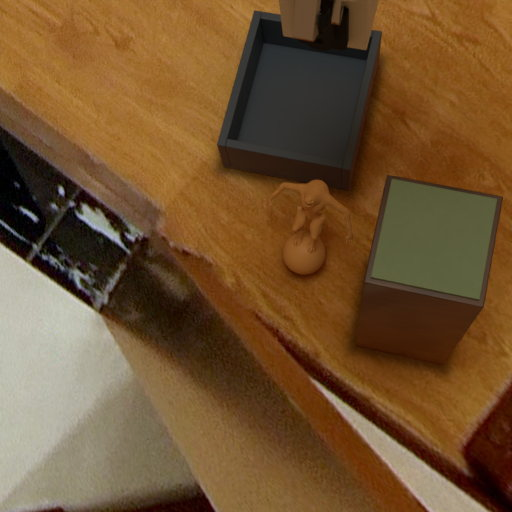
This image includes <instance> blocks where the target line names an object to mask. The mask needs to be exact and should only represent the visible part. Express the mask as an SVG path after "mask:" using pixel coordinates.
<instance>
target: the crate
mask: <svg viewBox="0 0 512 512" xmlns="http://www.w3.org/2000/svg"><path fill="white" fill-rule="evenodd" d="M382 37H383V31H381V30H377V29H372V30H371V34H370V38H369V42H368V46H367V49H366V50H361V49H355V48H350V47H347V49H346V50H337V49H330V50H327V51H324V50H318V49H314V48H311V47H310V46H309V45H308V44H303V43H301V42H299V41H298V39H294V38H291V37H285V36H283V30H282V22H281V14H280V13H273V12H267V11H261V10H256V9H254V10H253V14H252V16H251V20H250V24H249V27H248V30H247V35H246V39H245V42H244V45H243V50H242V52H241V56H240V59H239V64H238V68H237V70H236V73H235V74H236V75H235V78H234V82H233V86H232V89H231V93H230V96H229V99H228V104H227V106H226V109H225V110H226V111H225V115H224V118H223V121H222V125H221V129H220V132H219V136H218V140H217V143H216V146H217V150H218V153H219V155H220V159H221V163H222V166H223V167H224V168H229V169H233V170H239V171H243V172H249V173H254V174H259V175H263V176H270V177H274V178H279V179H284V180H289V181H296V182H300V183H304V184H307V183H309V182H310V181H312V180H322V181H323V182H325V183H326V185H327V186H328V188H331V189H335V190H342V191H346V192H349V191H350V190H351V185H352V180H353V176H354V172H355V169H356V164H357V159H358V154H359V150H360V146H361V143H362V142H361V141H362V138H363V133H364V128H365V124H366V120H367V115H368V112H369V111H368V110H369V108H370V107H369V106H370V102H371V98H372V93H373V89H374V84H375V81H376V76H377V71H378V67H379V63H380V56H381V46H382Z"/></svg>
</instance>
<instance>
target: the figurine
mask: <svg viewBox="0 0 512 512" xmlns="http://www.w3.org/2000/svg"><path fill="white" fill-rule="evenodd" d="M285 189H286V190H289V191H293V192H297V193H299V198H300V204H299V205H297V206H296V214H295V217H294V219H293V224H292V226H291V230H292V232H294V233H293V234H291V235H290V236H289V237H288V238H287V239H286V240H285V242H284V244H283V247H282V259H283V262H284V264H285V265H286V267H287V268H288V269H289V270H290V271H291V272H293V273H295V274H298V275H304V276H305V275H311V274H314V273H316V272H317V271H318V270H319V269H320V268H321V267H322V266H323V264H324V263H325V259H326V252H327V251H326V246H325V244H324V241H323V240H322V239H321V238H320V237H321V233H322V232H323V227H324V224H325V223H326V220H327V216H326V214H323V213H321V212H322V211H323V210H324V209H325V207H326V206H327V207H330V208H333V210H335V211H337V212H339V213H340V214H342V215H343V219H344V222H345V228H346V231H347V234H348V235H347V236H346V237H345V239H344V241H346V245H348V244H351V243H352V242H353V241H354V233H353V226H352V220H351V213H350V211H349V209H348V208H346V207H345V206H344V205H343V204H342V203H340V202H339V201H337V200H336V199H335V197H333V196H332V195H331V193H330V190H329V187H328V186H327V185H326V183H325V182H323V181H322V180H312V181H310V182H309V183H294V182H286V181H285V182H282V183H280V184H279V185H278V187H277V188H276V189H275V190H274V191H272V193H271V194H270V195H269V196H268V197H267V199H266V207H267V209H269V207H271V205H272V200H273V199H275V198H277V197H278V196H279V195H280V194H281V193H282V192H283V191H284V190H285ZM307 219H308V220H312V221H311V223H310V224H309V231H305V225H306V223H307Z"/></svg>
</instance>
